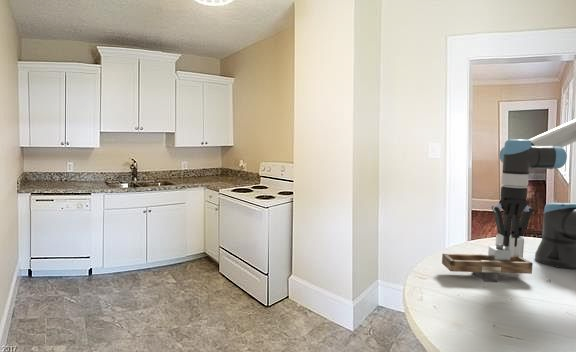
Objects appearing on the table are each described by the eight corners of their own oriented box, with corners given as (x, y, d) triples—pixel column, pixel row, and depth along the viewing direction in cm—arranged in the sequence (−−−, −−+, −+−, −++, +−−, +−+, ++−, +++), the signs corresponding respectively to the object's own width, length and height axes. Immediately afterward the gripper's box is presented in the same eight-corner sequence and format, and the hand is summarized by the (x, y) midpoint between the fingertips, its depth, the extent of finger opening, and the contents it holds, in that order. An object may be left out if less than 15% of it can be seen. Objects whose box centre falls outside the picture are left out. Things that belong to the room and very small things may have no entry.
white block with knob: (502, 260, 127) (503, 243, 127) (509, 265, 123) (511, 246, 122) (487, 260, 128) (488, 242, 127) (494, 264, 123) (495, 246, 123)
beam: (516, 273, 130) (517, 254, 129) (532, 283, 121) (533, 263, 120) (441, 271, 131) (441, 252, 130) (450, 280, 122) (451, 261, 122)
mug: (517, 272, 131) (520, 241, 130) (490, 265, 137) (492, 236, 136) (527, 264, 139) (529, 235, 138) (501, 259, 146) (503, 231, 144)
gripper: (527, 185, 126) (522, 253, 128) (488, 184, 127) (483, 251, 129) (541, 188, 119) (535, 260, 121) (500, 187, 119) (494, 258, 121)
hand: (508, 255), depth 125 cm, fingers closed
